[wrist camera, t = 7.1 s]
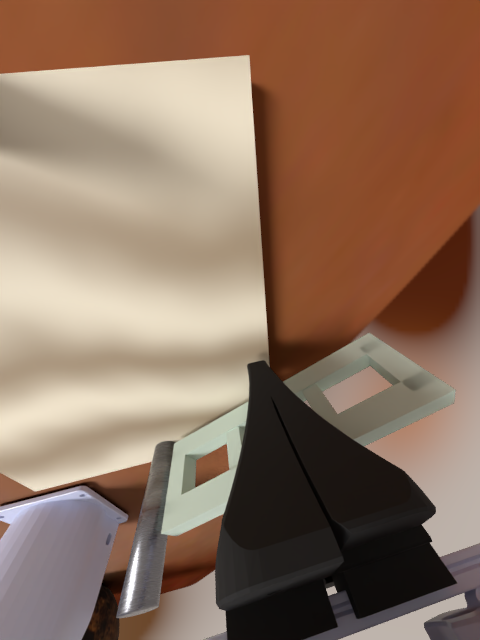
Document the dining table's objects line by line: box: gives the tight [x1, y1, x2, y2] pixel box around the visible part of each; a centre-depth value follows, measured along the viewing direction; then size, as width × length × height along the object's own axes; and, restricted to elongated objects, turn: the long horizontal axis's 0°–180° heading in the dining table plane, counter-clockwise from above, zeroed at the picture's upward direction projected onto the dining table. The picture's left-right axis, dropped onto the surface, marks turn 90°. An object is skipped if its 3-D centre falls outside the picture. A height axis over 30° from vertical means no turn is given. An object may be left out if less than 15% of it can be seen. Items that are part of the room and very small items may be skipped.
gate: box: [161, 333, 456, 536], centre depth 11 cm, size 16×1×4 cm, turn 122°
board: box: [0, 55, 270, 491], centre depth 10 cm, size 21×20×1 cm
